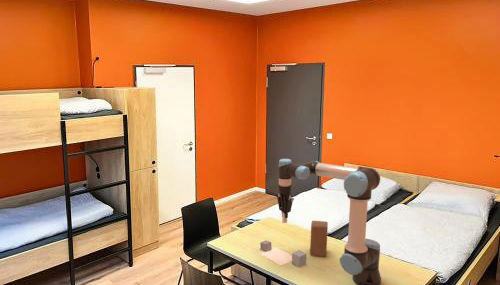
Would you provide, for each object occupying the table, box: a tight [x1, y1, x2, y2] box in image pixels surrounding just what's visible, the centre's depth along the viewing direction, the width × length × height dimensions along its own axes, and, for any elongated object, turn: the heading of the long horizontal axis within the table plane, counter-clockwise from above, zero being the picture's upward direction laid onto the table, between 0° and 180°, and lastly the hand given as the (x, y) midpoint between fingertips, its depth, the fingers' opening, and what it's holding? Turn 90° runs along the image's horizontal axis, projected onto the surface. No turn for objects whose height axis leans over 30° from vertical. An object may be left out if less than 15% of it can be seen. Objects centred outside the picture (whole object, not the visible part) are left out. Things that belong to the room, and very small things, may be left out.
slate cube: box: [291, 249, 307, 268], centre depth 229 cm, size 6×6×7 cm
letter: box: [258, 246, 292, 266], centre depth 239 cm, size 20×14×1 cm
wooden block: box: [309, 220, 329, 258], centre depth 242 cm, size 10×10×20 cm
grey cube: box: [259, 240, 273, 252], centre depth 247 cm, size 5×5×5 cm
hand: (284, 222), depth 233 cm, fingers closed
